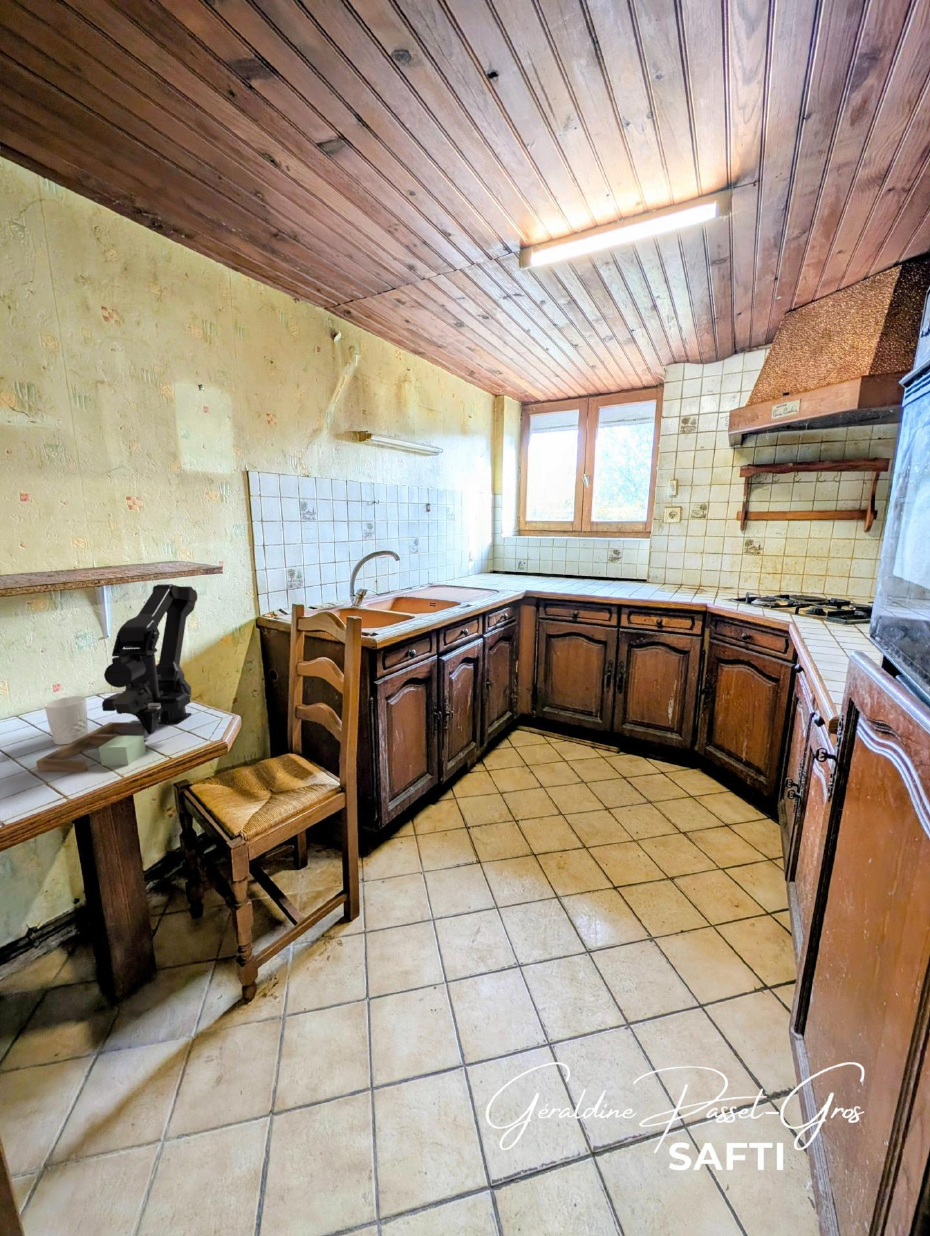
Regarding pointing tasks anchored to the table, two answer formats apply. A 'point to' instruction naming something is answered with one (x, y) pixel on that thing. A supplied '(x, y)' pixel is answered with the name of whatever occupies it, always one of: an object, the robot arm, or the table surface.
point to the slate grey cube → (135, 729)
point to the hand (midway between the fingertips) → (151, 733)
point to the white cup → (67, 719)
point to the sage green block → (122, 750)
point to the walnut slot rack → (78, 750)
